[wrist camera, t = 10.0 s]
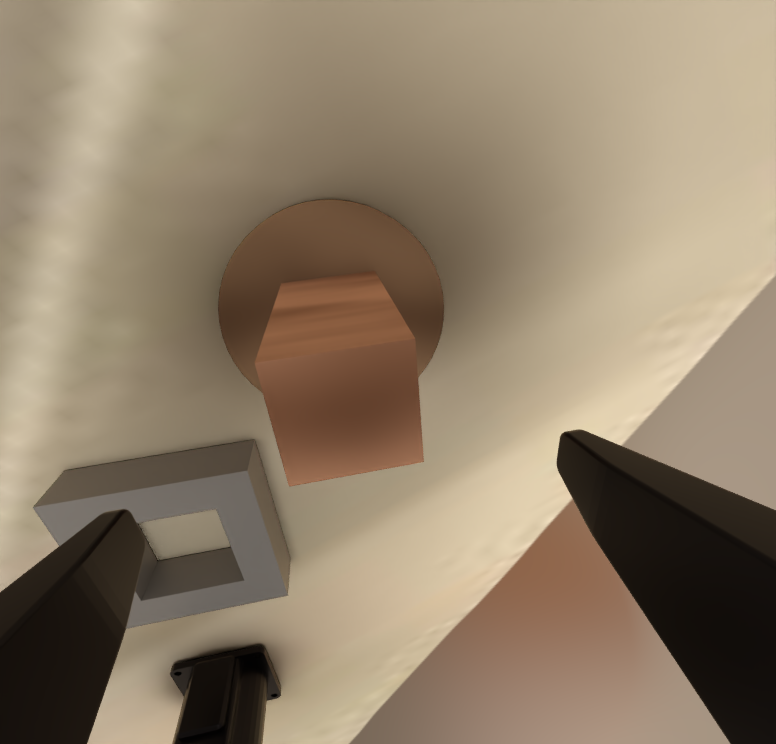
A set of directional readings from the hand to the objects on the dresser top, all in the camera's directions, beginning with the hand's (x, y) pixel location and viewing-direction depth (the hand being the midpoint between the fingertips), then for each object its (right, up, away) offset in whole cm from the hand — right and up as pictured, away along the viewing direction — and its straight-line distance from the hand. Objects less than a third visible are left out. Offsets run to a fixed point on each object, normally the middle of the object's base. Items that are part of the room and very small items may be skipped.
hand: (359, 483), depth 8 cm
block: (-2, +5, +10) cm, 11 cm away
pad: (-2, +5, +10) cm, 12 cm away
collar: (-11, -6, +14) cm, 19 cm away
